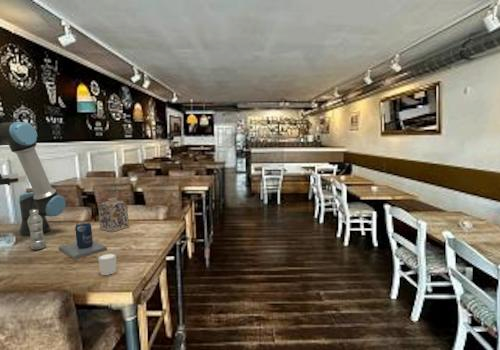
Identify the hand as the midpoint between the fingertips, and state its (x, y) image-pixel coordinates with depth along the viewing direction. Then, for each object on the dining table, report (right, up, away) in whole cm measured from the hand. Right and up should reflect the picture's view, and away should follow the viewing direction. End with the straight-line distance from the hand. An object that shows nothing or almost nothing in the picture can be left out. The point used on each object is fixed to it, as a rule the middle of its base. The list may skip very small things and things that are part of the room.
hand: (21, 177), depth 168 cm
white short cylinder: (+53, -39, -26) cm, 70 cm away
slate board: (+29, -35, +2) cm, 45 cm away
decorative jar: (+31, -31, +37) cm, 57 cm away
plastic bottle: (+5, -36, +5) cm, 36 cm away
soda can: (+30, -34, +2) cm, 45 cm away
